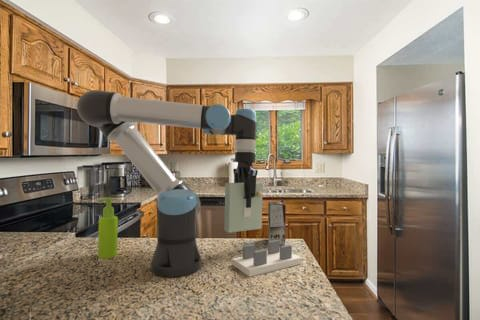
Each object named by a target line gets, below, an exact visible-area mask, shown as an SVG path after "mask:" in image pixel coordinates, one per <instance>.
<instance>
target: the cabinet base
mask: <svg viewBox="0 0 480 320" xmlns="http://www.w3.org/2000/svg"><path fill="white" fill-rule="evenodd" d="M292 249H293V247H292V245H291V244H285V245H279V240H273V241H269V240H268V242H267V249H264V248H263V249H260V250H256V244H254V243H251V244H246V245H242V256H240V257H239V256H238V257H234V258H232V263H231V264H232V266H233V267H235V268H236V269H237V270H239V271H240V272H242V273H243V274H245V275H246V276H248V278H250V277H255V276H258V275H263V274H266V273H267V274H268V273H270V272H274V271H278V270H282V269H283V270H284V269H286V268H290V267H294V266H299V265H301V264H302V257H301V256H299V255H296V254H294V253H293V252H292V251H293V250H292Z"/></svg>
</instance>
